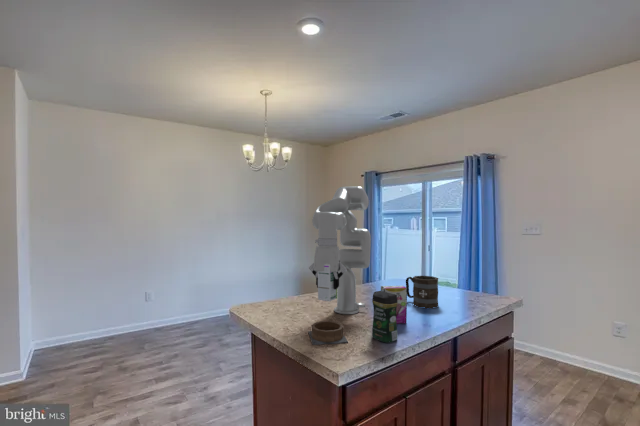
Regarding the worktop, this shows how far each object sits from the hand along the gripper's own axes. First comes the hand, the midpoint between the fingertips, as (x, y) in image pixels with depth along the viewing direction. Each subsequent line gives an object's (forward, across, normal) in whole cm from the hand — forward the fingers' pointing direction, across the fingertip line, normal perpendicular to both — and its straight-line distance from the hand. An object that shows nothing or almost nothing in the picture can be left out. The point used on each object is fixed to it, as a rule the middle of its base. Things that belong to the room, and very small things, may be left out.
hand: (327, 287), depth 133 cm
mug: (+20, +30, +68) cm, 77 cm away
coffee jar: (+20, +22, +7) cm, 30 cm away
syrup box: (+5, 0, 0) cm, 5 cm away
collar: (+20, 0, 0) cm, 20 cm away
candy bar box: (+20, +22, +29) cm, 41 cm away
